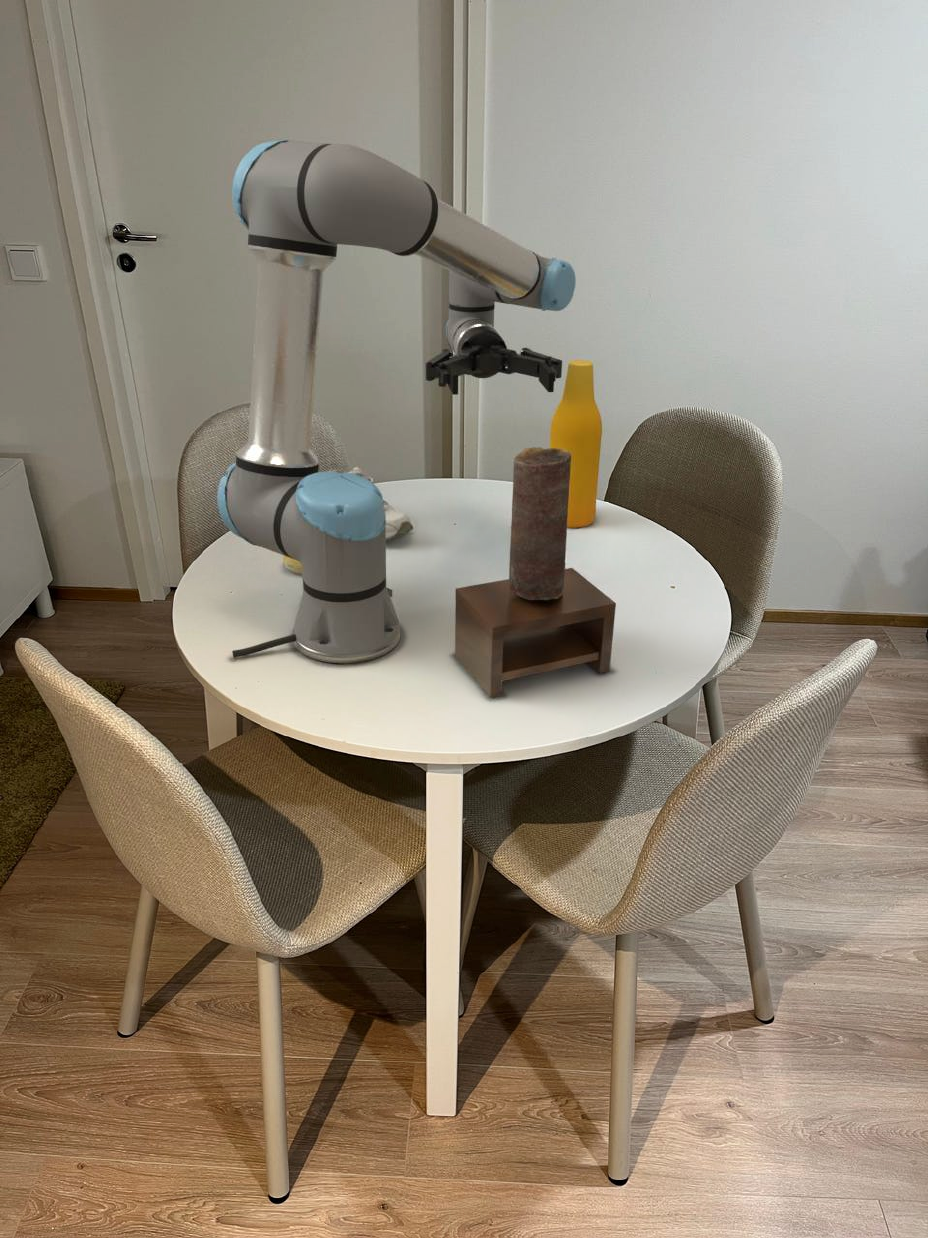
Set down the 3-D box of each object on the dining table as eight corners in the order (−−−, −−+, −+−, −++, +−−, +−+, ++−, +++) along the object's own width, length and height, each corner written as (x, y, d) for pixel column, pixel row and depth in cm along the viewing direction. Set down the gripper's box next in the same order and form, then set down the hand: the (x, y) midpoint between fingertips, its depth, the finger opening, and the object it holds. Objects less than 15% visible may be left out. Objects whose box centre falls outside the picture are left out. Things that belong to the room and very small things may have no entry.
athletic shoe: (392, 552, 168) (400, 483, 164) (297, 522, 180) (303, 457, 176) (428, 547, 176) (437, 481, 172) (335, 518, 188) (341, 456, 185)
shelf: (490, 698, 128) (492, 627, 123) (454, 655, 138) (455, 588, 133) (609, 671, 134) (616, 603, 129) (567, 632, 144) (572, 567, 139)
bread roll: (276, 562, 164) (274, 540, 162) (326, 551, 168) (325, 530, 166) (295, 581, 158) (293, 558, 156) (346, 569, 162) (345, 547, 160)
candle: (546, 613, 126) (555, 465, 117) (497, 599, 130) (501, 454, 120) (572, 591, 132) (583, 448, 123) (525, 578, 136) (531, 438, 126)
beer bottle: (582, 532, 177) (594, 371, 164) (536, 522, 181) (544, 364, 168) (602, 516, 184) (616, 361, 171) (558, 506, 188) (567, 354, 175)
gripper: (555, 371, 159) (588, 407, 140) (402, 374, 155) (415, 412, 137) (558, 323, 155) (592, 354, 137) (401, 326, 152) (414, 358, 133)
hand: (503, 383), depth 137 cm, fingers open, 13 cm apart
